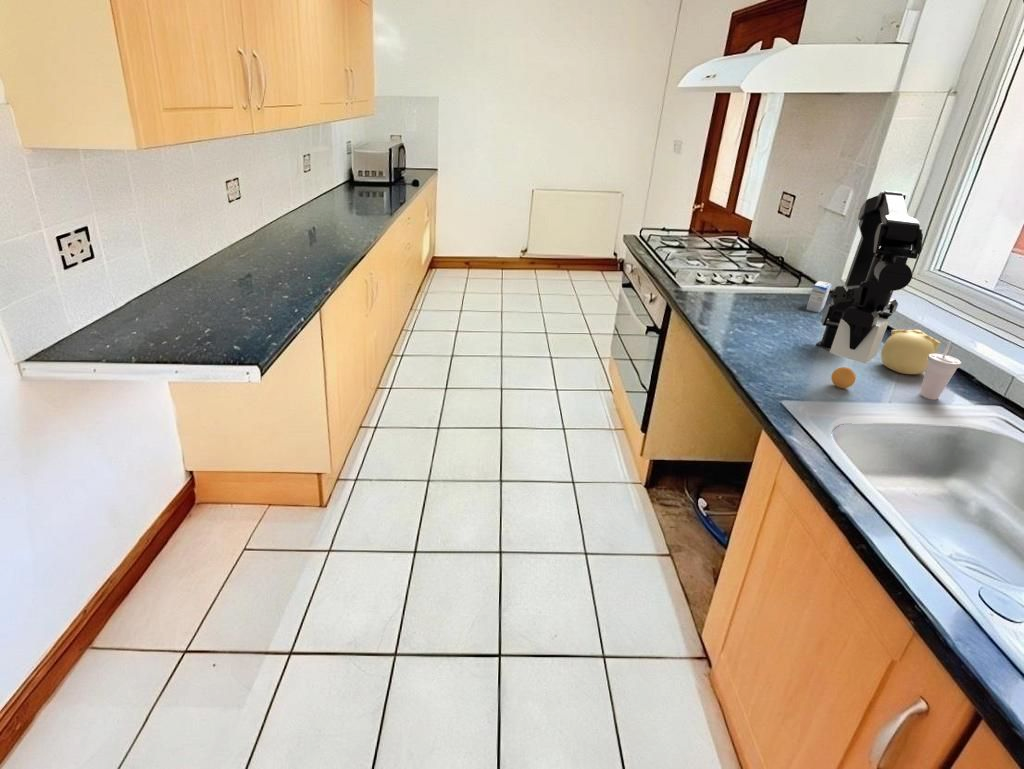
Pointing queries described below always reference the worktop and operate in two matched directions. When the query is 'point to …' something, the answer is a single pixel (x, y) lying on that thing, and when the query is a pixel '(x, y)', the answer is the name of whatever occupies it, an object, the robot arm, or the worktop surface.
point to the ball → (843, 377)
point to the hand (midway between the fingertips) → (858, 345)
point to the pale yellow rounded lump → (908, 351)
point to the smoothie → (938, 373)
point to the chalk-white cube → (865, 348)
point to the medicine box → (818, 296)
